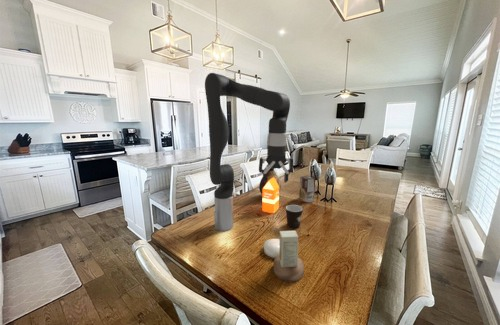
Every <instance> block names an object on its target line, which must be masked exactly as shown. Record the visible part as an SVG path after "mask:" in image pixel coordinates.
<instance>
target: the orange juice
mask: <svg viewBox="0 0 500 325" xmlns="http://www.w3.org/2000/svg"><path fill="white" fill-rule="evenodd" d="M261 195H262V196H261V197H262V198H261V199H262V200H261V201H262V202H261V203H262V206H261V207H262V209H261V211H262V212H265V213H269V214H275V213H277V211H278V209H279V208H280V203H279V202H280V193H279V185H278V183H277V182H276V180H275V178H274V177H273V178H272V179H270V180H269V181H268V182H267V184H266V185H265V186H264V188H263V192H262V194H261Z"/></svg>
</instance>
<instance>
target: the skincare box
mask: <svg viewBox="0 0 500 325" xmlns="http://www.w3.org/2000/svg"><path fill="white" fill-rule="evenodd" d="M279 239H280V251H279V260H280V264H281V267H296V266H298V257H299V235H298V232H297V231H296V229H294V230H293V229H292V230H279Z"/></svg>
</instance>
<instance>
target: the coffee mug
mask: <svg viewBox="0 0 500 325" xmlns="http://www.w3.org/2000/svg"><path fill="white" fill-rule="evenodd" d="M303 211H304V207H303V206H301V205H298V204H289V205H286V206H285V214H286V225H287V227H288V228H290V229H292V230H293V229H294V230H296V229H299V228H300V226H301V220H302V215H303Z"/></svg>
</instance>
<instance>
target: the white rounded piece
mask: <svg viewBox="0 0 500 325" xmlns="http://www.w3.org/2000/svg"><path fill="white" fill-rule="evenodd" d="M263 251H264V254H265V255H266V256H268V257H269V258H272V259H275V258H276V257H277V256H279V251H280V238H270V239H267V240H266V241H265V242H264V243H263Z"/></svg>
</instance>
